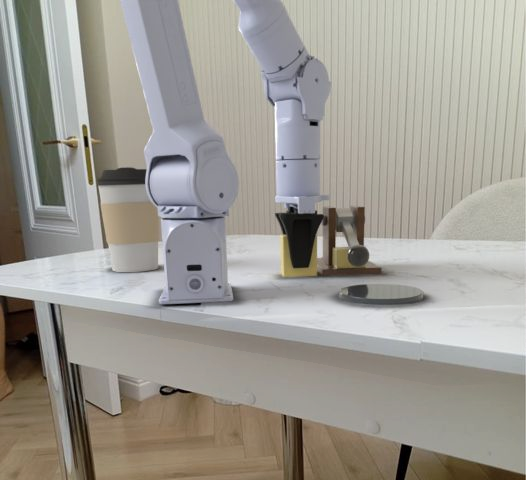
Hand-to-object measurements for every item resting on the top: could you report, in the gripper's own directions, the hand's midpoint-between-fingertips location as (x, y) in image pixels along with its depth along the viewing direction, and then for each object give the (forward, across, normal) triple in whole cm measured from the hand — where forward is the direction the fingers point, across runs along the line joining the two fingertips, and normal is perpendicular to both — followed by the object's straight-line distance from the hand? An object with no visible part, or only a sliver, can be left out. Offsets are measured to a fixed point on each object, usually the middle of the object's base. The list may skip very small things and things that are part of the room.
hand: (298, 265), depth 80 cm
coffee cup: (+2, +13, +24) cm, 27 cm away
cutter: (+1, +4, -7) cm, 8 cm away
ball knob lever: (-2, 0, -7) cm, 7 cm away
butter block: (0, 0, -7) cm, 7 cm away
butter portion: (+1, 0, 0) cm, 1 cm away
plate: (+1, -17, -6) cm, 18 cm away
